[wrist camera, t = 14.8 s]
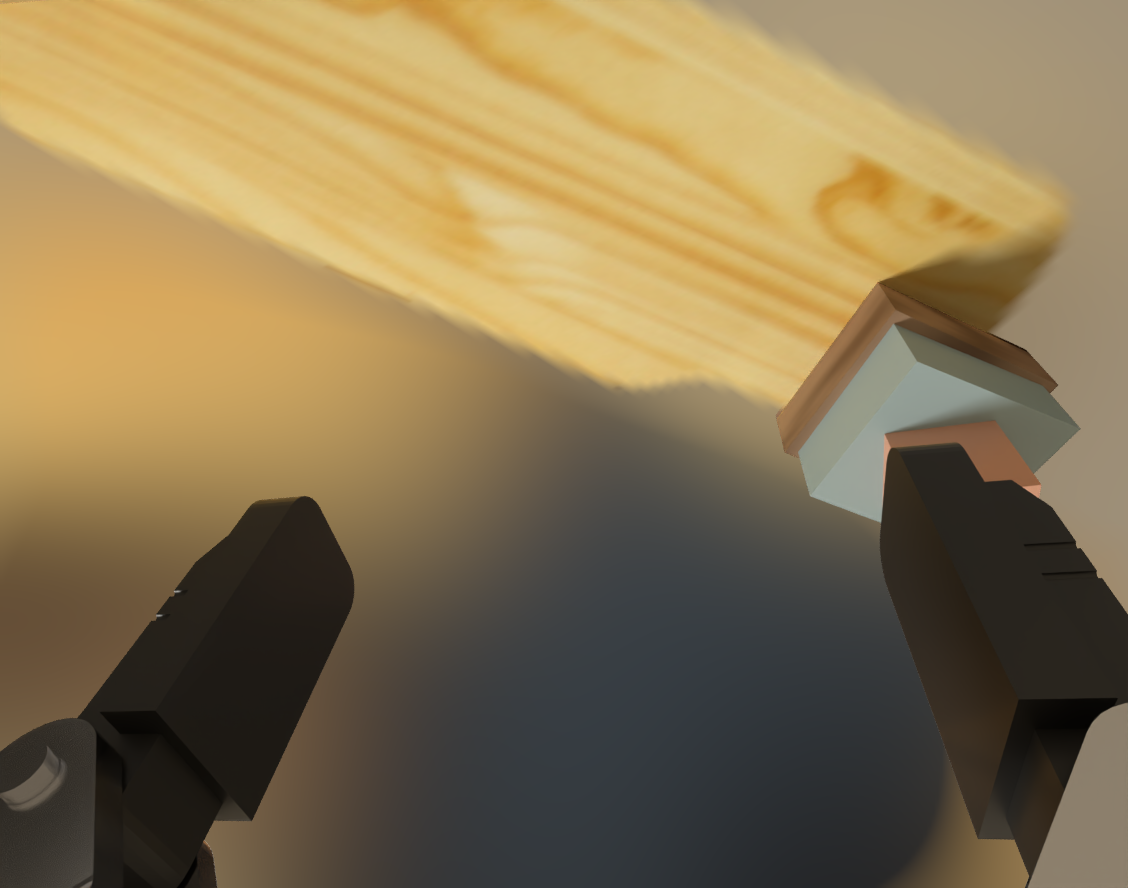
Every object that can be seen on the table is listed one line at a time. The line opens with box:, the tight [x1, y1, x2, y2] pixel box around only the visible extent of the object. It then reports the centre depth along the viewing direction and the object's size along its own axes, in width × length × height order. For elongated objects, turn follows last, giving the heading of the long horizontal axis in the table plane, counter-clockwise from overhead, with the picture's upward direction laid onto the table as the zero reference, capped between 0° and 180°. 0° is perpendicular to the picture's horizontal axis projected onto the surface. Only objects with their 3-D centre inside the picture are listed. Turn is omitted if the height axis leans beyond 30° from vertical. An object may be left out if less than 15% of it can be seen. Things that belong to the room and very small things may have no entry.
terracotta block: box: [882, 420, 1041, 507], centre depth 33 cm, size 5×5×5 cm
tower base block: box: [776, 282, 1058, 458], centre depth 40 cm, size 10×10×4 cm
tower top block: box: [798, 324, 1080, 523], centre depth 37 cm, size 9×9×4 cm
